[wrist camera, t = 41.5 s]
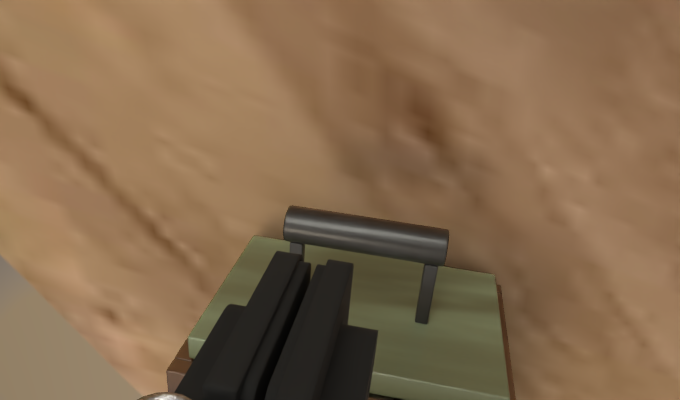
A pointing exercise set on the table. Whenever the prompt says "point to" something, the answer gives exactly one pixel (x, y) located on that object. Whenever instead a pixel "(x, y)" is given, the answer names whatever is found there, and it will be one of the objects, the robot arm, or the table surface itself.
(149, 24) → the table surface
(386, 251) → the drawer
